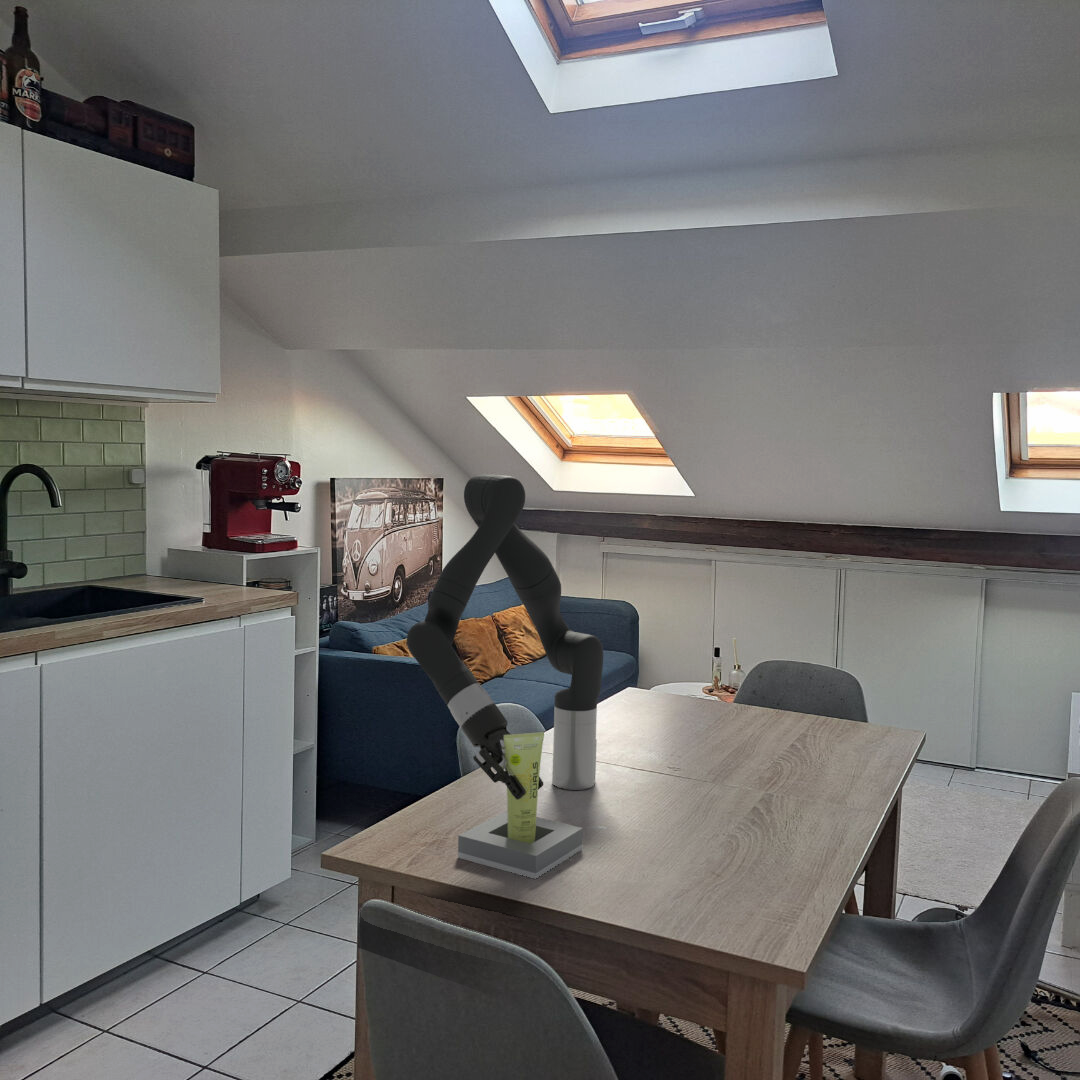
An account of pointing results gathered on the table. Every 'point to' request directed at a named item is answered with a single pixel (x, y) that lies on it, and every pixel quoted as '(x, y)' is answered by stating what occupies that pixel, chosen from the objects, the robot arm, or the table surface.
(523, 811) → the tube
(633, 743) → the table surface
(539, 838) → the holder
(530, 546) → the robot arm
